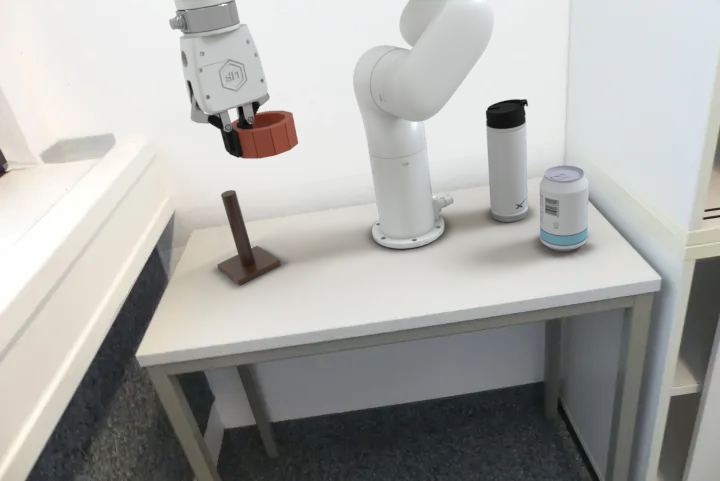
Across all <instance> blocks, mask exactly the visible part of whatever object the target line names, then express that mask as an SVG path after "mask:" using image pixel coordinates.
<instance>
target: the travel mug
mask: <svg viewBox="0 0 720 481" xmlns="http://www.w3.org/2000/svg"><path fill="white" fill-rule="evenodd" d="M525 106H526V108H527V107H528V106H529V101H528V99H526V98H523V99H519V98H514V99H512V98H511V99H505V100H501V101H497V102H495V103H493V104H491V105H489V106H488V107H487V109H486V110H485V119H486V121H485V123H486V124H485V127H486V129H485V130H486V145H487V146H486V148H487V163H488V166H487V168H488V182H489V183H488V184H489V203H490V215H491V217H492V218H493V219H494V220H496V221H498V222H503V223H514V222H518V221H520V220H523V219H524V218H526V217H527V216H528V214H529V206H528V205H529V202H528V201H529V200H528V196H529V195H528V192H529V191H528V151H527V143H528V142H527V118H526V108H525Z"/></svg>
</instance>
